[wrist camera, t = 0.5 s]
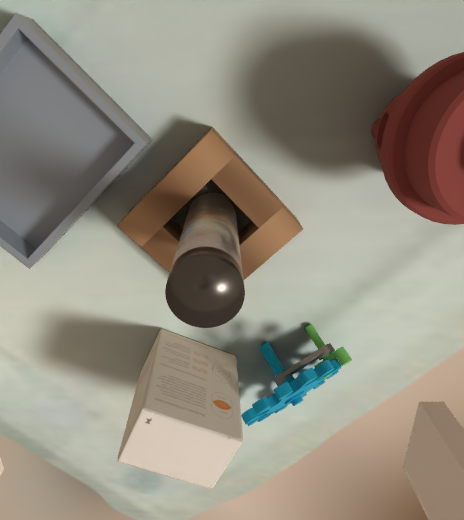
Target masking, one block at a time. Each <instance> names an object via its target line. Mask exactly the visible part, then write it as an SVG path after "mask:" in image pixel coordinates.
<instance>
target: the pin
mask: <svg viewBox="0 0 464 520" xmlns="http://www.w3.org/2000/svg"><path fill="white" fill-rule="evenodd" d="M165 294H166V300H167V303H168V306H169V308H170V309H171V311H172V312H173V313H174V315H175V316H176V317H177V318H179V319H180V320H181V321H183V322H185V323H187V324H189V325H192V326H195V327H200V328H211V327H216V326H220V325H222V324H225V323H226V322H228V321H230V320H231V319H232V318H233V317H234V316H235V315H236V314H237V313H238V312H239V310H240V309H241V307H242V304H243V301H244V296H245V290H244V281H243V272H242V264H241V255H240V246H239V237H238V229H237V220H236V212H235V208H234V206H233V204H232V203H231V201H230V200H229V199H228V198H226V197H225V196H223V195H221V194H219V193H205V194H202V195H200V196H198V197H197V198H196V199H194V201H193V202H192V203H191V205H190V207H189V210H188V213H187V217H186V220H185V223H184V227H183V230H182V233H181V237H180V240H179V244H178V247H177V250H176V254H175V257H174V260H173V264H172V267H171V271H170V274H169V277H168V281H167V284H166V293H165Z"/></svg>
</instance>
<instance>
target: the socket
mask: <svg viewBox="0 0 464 520" xmlns="http://www.w3.org/2000/svg"><path fill="white" fill-rule="evenodd" d="M211 179H212V180H213V181H214V182H215V183H216V184H217V186H218V187H219V188H220V189H221V190H222V191H223V192H224V193H225V194H226V195H227V196H228V197H229V198H230V199H231V200H232V201H233V202H234V203H235V204H236V205H237V206H238V207H239V208H240V209H241V210H242V211H243V212H244V213H245V214H246V215H247V216H248V217H249V218H250V219H251V220H252V221H251V222H250V223H249V224H248V225H247V226H246V227H245V228H243V229H242V230H241V231H240V232H239V233H238V237H239V246H240V255H241V264H242V272H243V280H245V279H246V278H247V277H248V276H249V275H250V274H252V273H253V272H254V271H255V270H256V269H257V268H258V267H260V266H261V265H262V264H263V263H264V262H265V261H267V260H268V259H269V258H270V257H271V256H272V255H274V254H275V253H276V252H277V251H278V250H279V249H281V248H282V247H283V246H284V245H285V244H286V243H288V242H289V241H290V240H291V239H292V238H293V237H294V236H296V235H297V234H298V233H299V232H300V231H301V230H303V228H302V226H301V225H300V223H299V221H298V220H297V218H296V217H295V216H294V215H293V214H292V213H291V211H290V210H289V209H288V208H287V207H286V206H285V205H284V204H283V203H282V202H281V201H280V200H279V198H278V197H277V196H276V195H275V194H274V193H273V192H272V191H271V190H270V189H269V188H268V187H267V185H266V184H265V183H264V182H263V181H262V180H261V179H260V178H259V177H258V176H257V175H256V174H255V172H254V171H253V170H252V169H251V168H250V167H249V166H248V165H247V164H246V163H245V162H244V161H243V159H242V158H241V157H240V156H239V155H238V154H237V153H236V152H235V151H234V150H233V149H232V148H231V146H230V145H229V144H228V143H227V142H226V141H225V140H224V139H223V138H222V137H221V136H220V135H219V133H218V132H217V131H216V130H215V129H214V128H213V127H212V128H211V129H210V130H209V131H208V132H207V133H206V134H205V135H204V136H203V137H202V138H201V139H200V140H199V141H198V142H197V143H196V144H195V145H194V146H193V147H192V148H191V149H190V150H189V151H188V152H187V153H186V154H185V155H184V156H183V157H182V158H181V159H180V160H179V161H178V163H177V164H176V165H175V166H174V167H173V168H172V169H171V170H170V171H169V172H168V173H167V174H166V175H165V176H164V177H163V178H162V179H161V180H160V181H159V182H158V183H157V184H156V185H155V186H154V187H153V188H152V189H151V190H150V191H149V192H148V193H147V194H146V195H145V196H144V197H143V198H142V199H141V200H140V201H139V202H138V203H137V204H136V205H135V206H134V207H133V208H132V209H131V210H130V211H129V212H128V213H127V214H126V216H125V217H124V218H123V219H122V221H121V222H120V223H119V224H118V227H119V228H120V229H122V230H123V231H124V232H125V233H126V234H127V235H128V236H129V237H131V238H132V239H133V240H134V241H135V242H136V243H137V244H138V245H139V246H141V247H142V248H143V249H144V250H145V251H146V252H147V253H148V254H150V255H151V256H152V257H153V258H154V259H155V260H156V261H157V262H159V263H160V264H161V265H162V266H163V267H164V268H165V269H166V270H168V271H169V272H170V271H171V267H172V264H173V260H174V257H175V254H176V250H177V247H178V244H179V240H180V237H181V233H182V229H181V228H180V227H179V226H178V225H177V224H176V223H175V222H174V221H173V220H172V219H171V218H172V217H173V216H174V215H175V214H176V213H177V212H178V211H179V210H180V209H181V208H182V207H183V206H184V205H185V204H186V203H187V202H188V201H189V200H190V199H191V198H192V197H193V196H194V195H195V194H196V193H197V192H198V191H199V190H200V189H202V188H203V187H204V186H205V185H206V184H207V183H208V182H209V181H210V180H211Z"/></svg>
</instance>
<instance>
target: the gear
mask: <svg viewBox="0 0 464 520" xmlns="http://www.w3.org/2000/svg"><path fill="white" fill-rule="evenodd" d="M305 330H306V331H307V333H308V334H309V336H310V337H311V339H312V340H313V342H314V343H315V345H316V346H317V348H318V350H317V351H315V352H314V353H312V354H310V355H309V356H307V357H306V358H304V359H303V360H301V361H299V362H298V363H296V364H295V365H293V366H292V367H290V368H288V369H287V370H285V369H284V368H283V366H282V364H281V363H280V361H279V359H278V358H277V356H276V354H275V353H274V351H273V349H272V348H271V346H270V344H269V343H266V344H264V345H262V346H261V347H260V350H261V352H262V354H263V355H264V357H265V359H266V360H267V362H268V364H269V366H270V367H271V369H272V371H273V372H274V374H275V376H276V377H275V378H274V381H275V382H276V384H277V386H278V387H277V388H275V389H274V392H275V393H274V394H273V395H272V396H270V397H268V398H266V397H263V398H261V399H260V400H258V401H257V402H255V403H254V404H253V405H252V406H253V408H251V409H249V410H247V411H246V412H244V413H243V414H242V415H241V416H242V418H243V420H244V422H245V424H248V426H250V425H252V424H253V423H255V422H256V421H258V422H260V421H262V420H264V419H265V418H267V417H268V416H270V415H271V414H272V413H274V412H275V413H277V412H279V411H281V410H283V409H284V408H285V407H287V405H289V404H290V403H292V405H293V406H295V405H297V404H298V403H300V402H301V401H303V399H302V397H304V396H305V395H307V394H306V393H307V392H308V391H309V390H311V389H312V388H314V389H315V388H317V387H319V386H320V385H322V384H323V383H325V381H324V380H325V379H328V378H330V377H332V376H333V375H335V374H336V373H337V372H339V371H338V370H339V369H340V368H341V367H342V366H344V365H345V364H347V363H349V362H350V361H351V360H352V359H351V357H350V356H349V355H348V353H347V352H346V350H345V349H344V347H341V348H339V349H337V350H336V351H335V350H334V348H333V347H332V345H331V344H330V343H329V344H327V345H325V344H324V342H323V341H322V339H321V338H320V336H319V335H318V333H317V332H316V330H315V329H314V327H313V326H312V325H308V326H307V327H306V328H305ZM334 351H335V352H334ZM318 358H319V360H321V359H323V361H322V362H320V363H318V364H317V365H315V366H314V367H315V369H313V368H310V369H307V370H305V371H303V372H302V373H301V374H299V375H298V377H297V378H296V379H294V378H293V376H292V375H293V374H294V373H296V372H297V371H299V370H301V369H302V368H304V367H305V366H307V365H308V364H310V363H312V362H313V361H315V360H316V359H318ZM335 358H337V359H338V360H337V359H335ZM338 361H339V362H340V363H339V362H338ZM341 365H342V366H341Z"/></svg>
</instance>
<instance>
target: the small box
mask: <svg viewBox="0 0 464 520" xmlns="http://www.w3.org/2000/svg"><path fill="white" fill-rule="evenodd" d="M242 442H243V435H242V422H241V409H240V395H239V382H238V369H237V357H236V356H235V355H232V354H229V353H226V352H224V351H221V350H218V349H215V348H213V347H210V346H207V345H205V344H202V343H199V342H196V341H194V340H191V339H188V338H186V337H183V336H180V335H177V334H174V333H172V332H169V331H166V330H164V329H161V330H160V331H159V334H158V336H157V338H156V340H155V342H154V344H153V347H152V349H151V351H150V353H149V355H148V357H147V359H146V362H145V364H144V366H143V368H142V370H141V373H140V376H139V380H138V384H137V387H136V391H135V395H134V399H133V402H132V406H131V410H130V414H129V417H128V421H127V425H126V429H125V432H124V436H123V439H122V443H121V447H120V451H119V455H118V462H122V463H125V464H128V465H132V466H135V467H139V468H142V469H146V470H149V471H153V472H156V473H159V474H163V475H166V476H170V477H173V478H176V479H180V480H183V481H187V482H190V483H193V484H197V485H200V486H203V487H207V488H210V489H212V488H213V487H214V485H215V484H216V482H217V481H218V479H219V478H220V476H221V474H222V473H223V471H224V470H225V468H226V467H227V465H228V464H229V462H230V461H231V459H232V457H233V456H234V454H235V453H236V451H237V450H238V448H239V447H240V445H241V444H242Z"/></svg>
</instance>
